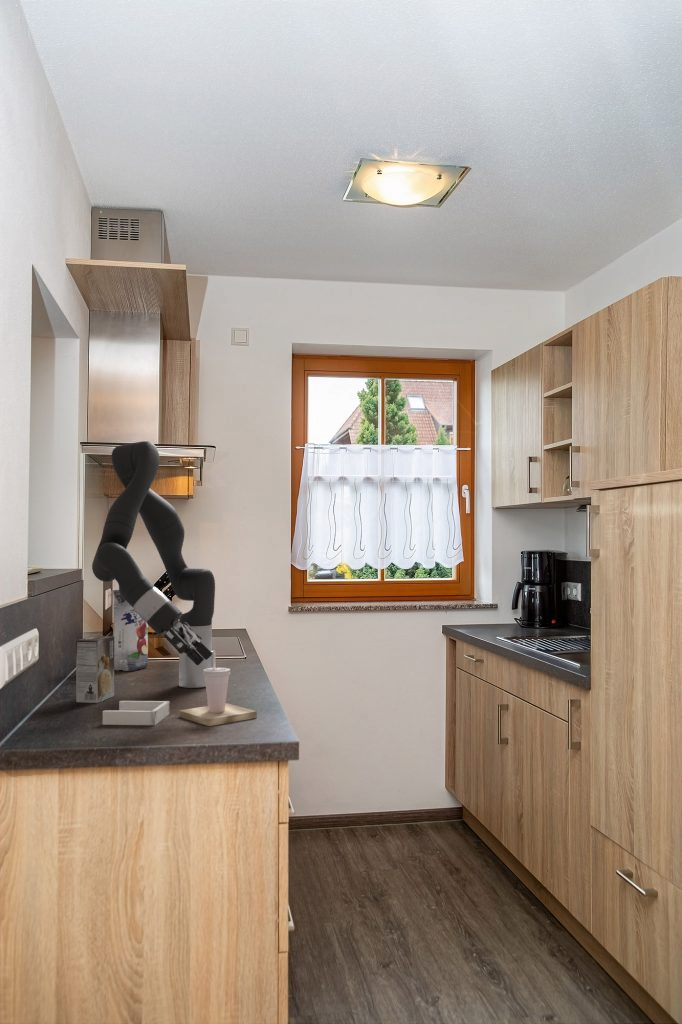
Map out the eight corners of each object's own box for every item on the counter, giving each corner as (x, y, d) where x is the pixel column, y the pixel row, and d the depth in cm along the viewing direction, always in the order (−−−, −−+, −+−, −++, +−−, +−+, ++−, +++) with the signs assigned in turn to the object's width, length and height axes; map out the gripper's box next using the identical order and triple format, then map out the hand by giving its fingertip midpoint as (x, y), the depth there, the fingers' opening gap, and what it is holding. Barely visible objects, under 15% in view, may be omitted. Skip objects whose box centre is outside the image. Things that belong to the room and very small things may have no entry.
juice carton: (108, 670, 261) (109, 585, 262) (128, 666, 271) (128, 583, 272) (132, 672, 258) (133, 586, 259) (151, 667, 268) (151, 584, 269)
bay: (102, 724, 186) (102, 711, 186) (120, 713, 197) (120, 700, 198) (154, 725, 185) (154, 711, 185) (169, 713, 197) (169, 701, 197)
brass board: (226, 709, 202) (226, 703, 202) (256, 717, 192) (256, 711, 192) (179, 716, 193) (179, 710, 193) (208, 726, 183) (208, 719, 184)
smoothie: (204, 708, 195) (204, 649, 196) (231, 707, 196) (231, 648, 196) (201, 714, 189) (201, 653, 189) (229, 713, 190) (229, 652, 190)
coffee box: (93, 695, 220) (93, 635, 221) (115, 696, 219) (115, 635, 219) (75, 702, 211) (75, 639, 212) (98, 703, 210) (98, 640, 210)
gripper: (160, 602, 187) (210, 652, 186) (176, 597, 201) (223, 644, 200) (137, 625, 187) (186, 676, 186) (155, 619, 202) (201, 666, 201)
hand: (205, 659), depth 193 cm, fingers open, 8 cm apart
